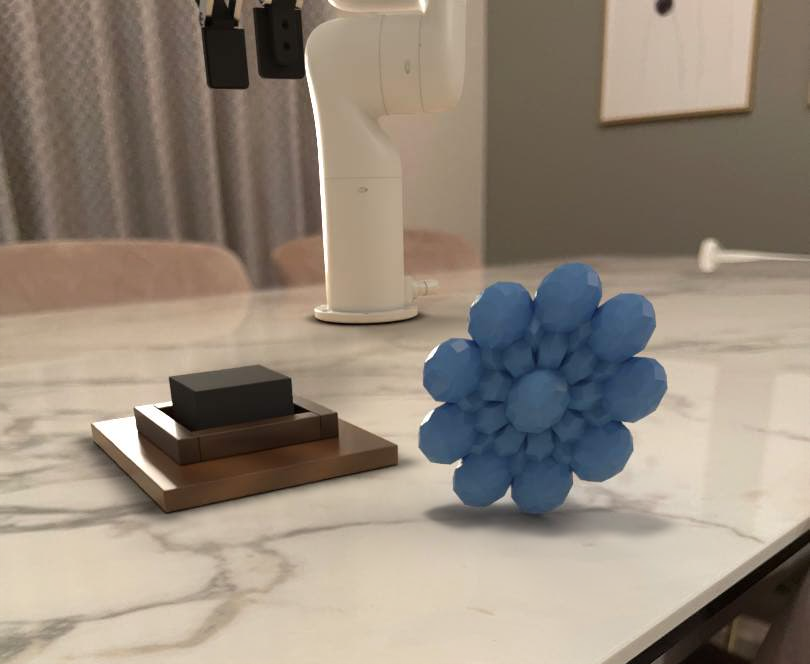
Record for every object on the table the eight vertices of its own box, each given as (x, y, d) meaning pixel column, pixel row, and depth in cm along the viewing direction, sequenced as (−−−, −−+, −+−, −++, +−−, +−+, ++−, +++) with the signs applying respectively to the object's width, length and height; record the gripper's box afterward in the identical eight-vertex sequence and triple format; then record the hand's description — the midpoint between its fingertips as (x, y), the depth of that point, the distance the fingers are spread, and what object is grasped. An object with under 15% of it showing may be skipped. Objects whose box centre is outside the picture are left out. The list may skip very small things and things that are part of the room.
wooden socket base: (286, 409, 63) (283, 372, 62) (398, 464, 50) (397, 419, 49) (93, 440, 56) (86, 400, 55) (166, 513, 43) (159, 463, 42)
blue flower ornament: (643, 487, 45) (666, 253, 41) (660, 536, 39) (689, 267, 35) (428, 481, 47) (426, 255, 42) (412, 527, 41) (407, 268, 36)
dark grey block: (264, 417, 56) (259, 364, 55) (296, 434, 52) (291, 377, 51) (175, 431, 53) (168, 376, 52) (202, 451, 49) (195, 391, 48)
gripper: (344, -265, 48) (358, 75, 55) (232, -172, 62) (255, 93, 69) (219, -295, 45) (251, 73, 52) (129, -189, 58) (165, 92, 65)
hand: (253, 84), depth 60 cm, fingers open, 9 cm apart
